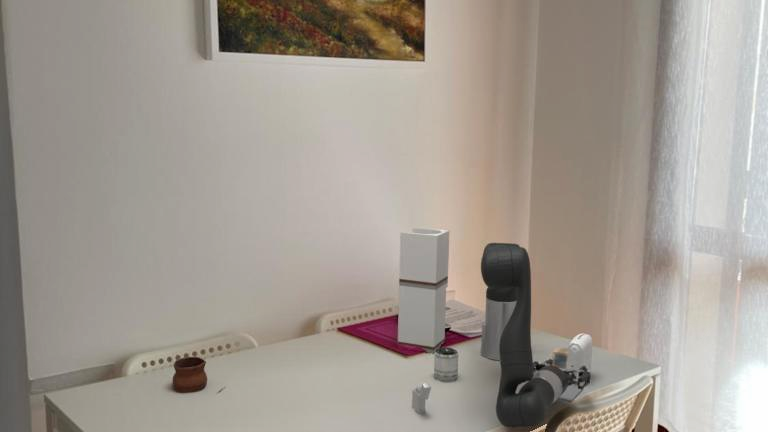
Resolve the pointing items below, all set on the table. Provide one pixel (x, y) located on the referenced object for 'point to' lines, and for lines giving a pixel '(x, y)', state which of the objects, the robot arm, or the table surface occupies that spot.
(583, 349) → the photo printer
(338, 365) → the table surface
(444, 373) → the camera lens
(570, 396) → the felt pad
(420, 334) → the tall white banded vase
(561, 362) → the wooden block
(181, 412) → the table surface
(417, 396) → the lighter
